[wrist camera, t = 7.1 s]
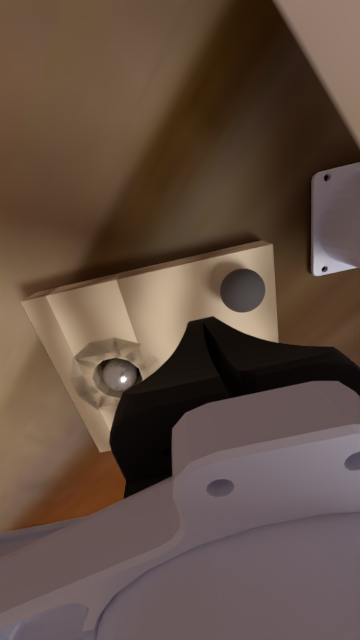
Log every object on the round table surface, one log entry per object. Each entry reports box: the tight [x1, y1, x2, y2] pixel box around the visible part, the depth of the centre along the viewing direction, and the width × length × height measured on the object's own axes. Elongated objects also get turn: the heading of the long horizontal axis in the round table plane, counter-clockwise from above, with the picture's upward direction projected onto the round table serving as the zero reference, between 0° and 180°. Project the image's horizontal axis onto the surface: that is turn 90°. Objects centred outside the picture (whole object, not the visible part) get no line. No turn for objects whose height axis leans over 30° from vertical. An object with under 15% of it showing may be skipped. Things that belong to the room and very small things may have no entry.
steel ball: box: [103, 358, 137, 391], centre depth 23 cm, size 3×3×3 cm
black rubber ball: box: [220, 269, 265, 313], centre depth 18 cm, size 3×3×3 cm
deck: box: [21, 240, 278, 452], centre depth 23 cm, size 20×18×2 cm
